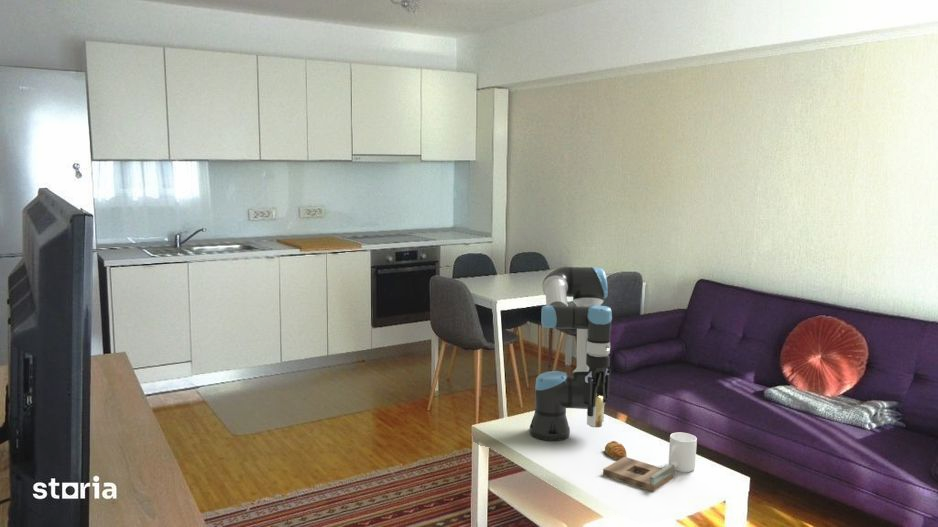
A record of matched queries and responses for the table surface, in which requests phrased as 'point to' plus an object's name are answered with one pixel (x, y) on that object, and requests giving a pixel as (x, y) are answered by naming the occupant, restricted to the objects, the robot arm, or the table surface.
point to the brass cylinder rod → (598, 410)
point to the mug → (682, 451)
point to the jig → (649, 480)
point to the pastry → (615, 450)
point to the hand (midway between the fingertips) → (595, 423)
